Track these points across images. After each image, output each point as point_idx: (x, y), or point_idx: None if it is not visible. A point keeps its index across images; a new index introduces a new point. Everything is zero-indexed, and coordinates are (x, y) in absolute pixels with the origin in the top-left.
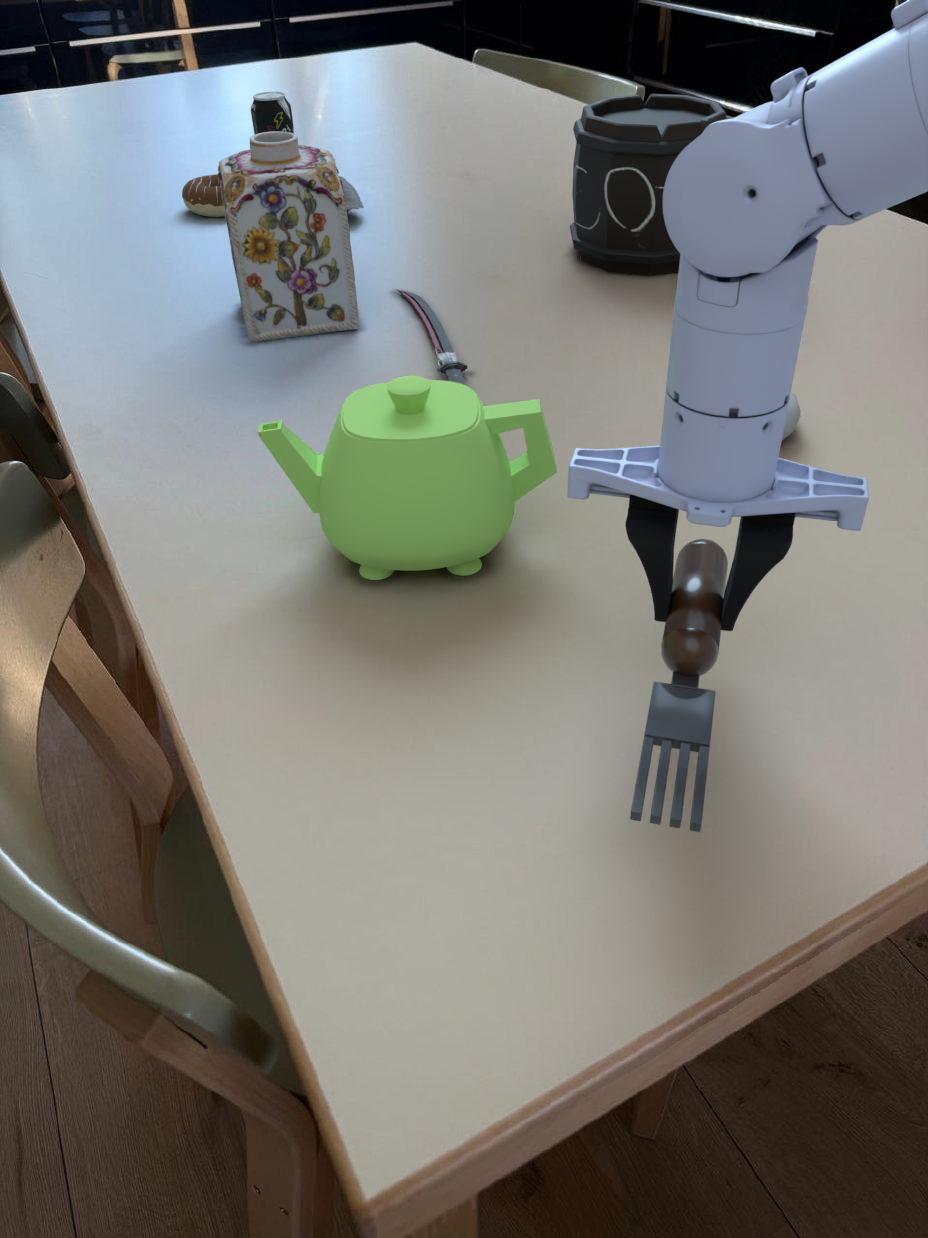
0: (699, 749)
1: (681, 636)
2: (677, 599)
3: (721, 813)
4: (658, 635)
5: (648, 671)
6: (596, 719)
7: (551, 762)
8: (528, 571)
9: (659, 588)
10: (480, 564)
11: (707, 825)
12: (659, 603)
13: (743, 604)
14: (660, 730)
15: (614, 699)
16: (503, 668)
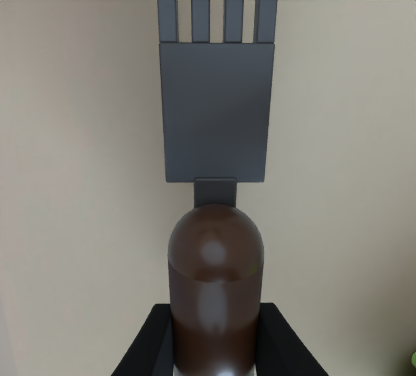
0: (175, 29)
1: (238, 259)
2: (249, 349)
3: (154, 82)
4: None
5: None
6: (292, 187)
7: (337, 114)
8: (365, 359)
9: (306, 370)
10: (414, 360)
11: None
12: (285, 333)
13: (122, 359)
14: (247, 58)
15: (276, 218)
16: (390, 235)
